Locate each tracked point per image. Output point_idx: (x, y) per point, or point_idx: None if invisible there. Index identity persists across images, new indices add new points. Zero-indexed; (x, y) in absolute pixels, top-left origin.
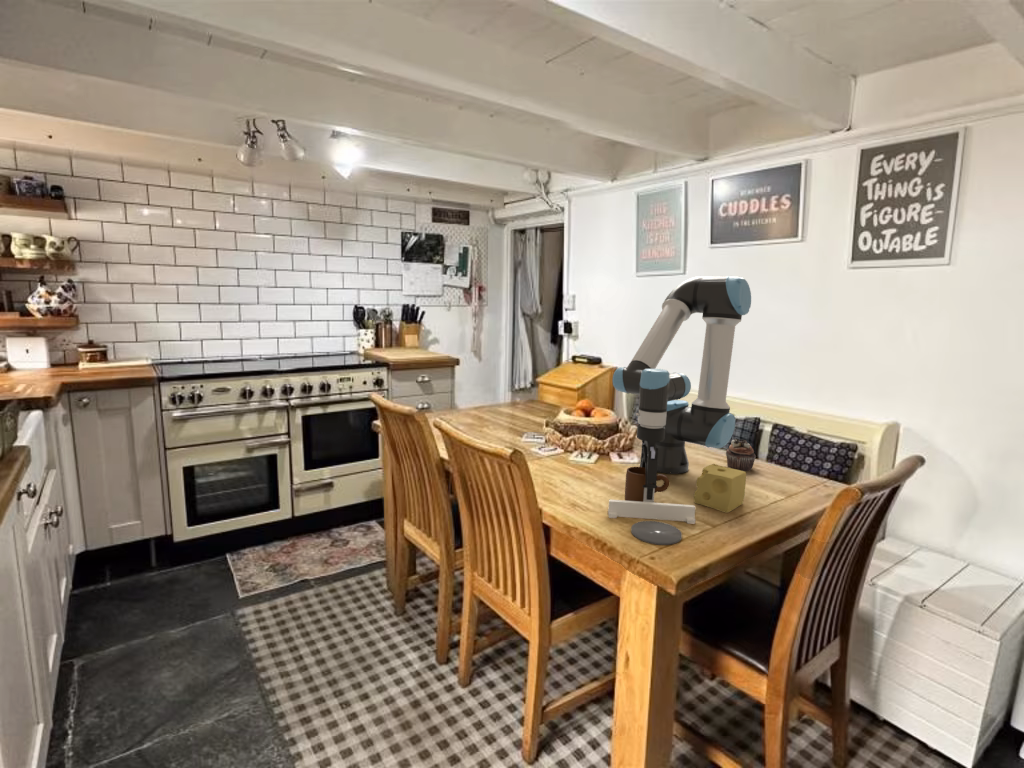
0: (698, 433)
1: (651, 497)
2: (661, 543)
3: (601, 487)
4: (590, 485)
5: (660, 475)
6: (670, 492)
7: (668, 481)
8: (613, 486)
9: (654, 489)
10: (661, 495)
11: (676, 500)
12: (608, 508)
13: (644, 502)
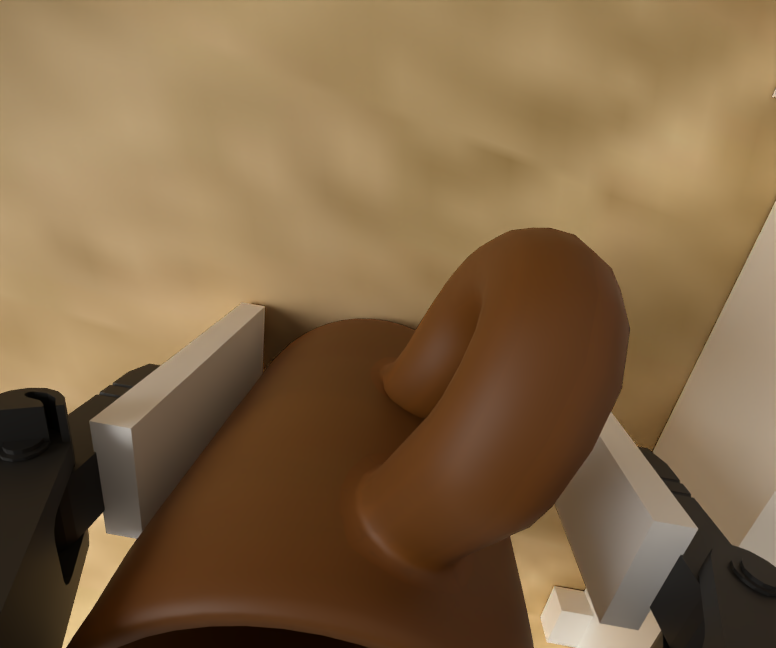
0: None
1: (668, 480)
2: None
3: (111, 551)
4: (95, 595)
5: (537, 514)
6: (42, 5)
7: (613, 285)
8: None
9: (677, 508)
10: (165, 150)
11: (285, 14)
12: (548, 640)
13: None
